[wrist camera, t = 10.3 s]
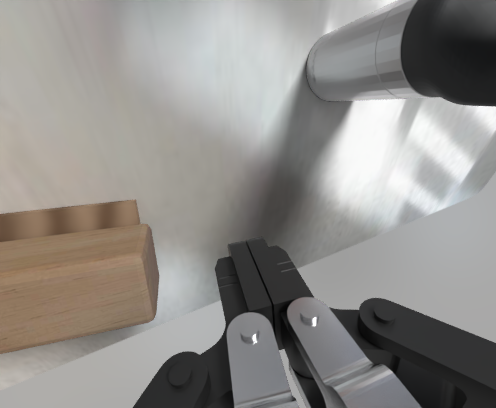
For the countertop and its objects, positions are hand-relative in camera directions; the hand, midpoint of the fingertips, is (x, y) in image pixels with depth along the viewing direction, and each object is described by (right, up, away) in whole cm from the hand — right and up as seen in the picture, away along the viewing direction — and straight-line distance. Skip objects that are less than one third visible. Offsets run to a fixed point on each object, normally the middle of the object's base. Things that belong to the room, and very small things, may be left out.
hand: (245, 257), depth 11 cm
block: (-13, -6, +24) cm, 28 cm away
